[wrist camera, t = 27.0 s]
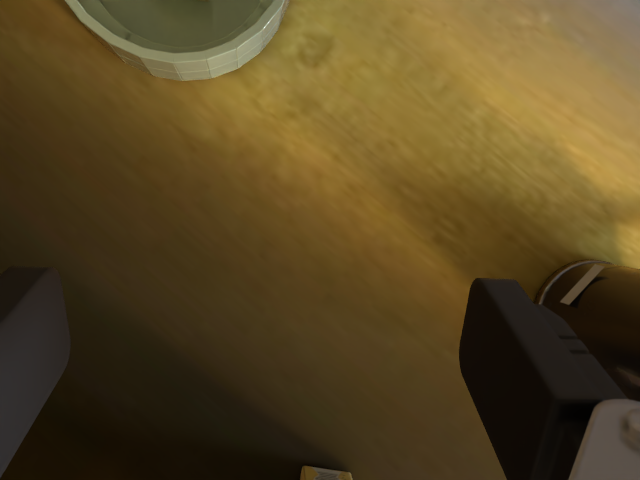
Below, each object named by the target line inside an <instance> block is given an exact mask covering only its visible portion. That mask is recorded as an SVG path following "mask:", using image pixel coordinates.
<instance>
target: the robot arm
mask: <svg viewBox="0 0 640 480" xmlns="http://www.w3.org/2000/svg"><path fill="white" fill-rule="evenodd" d="M70 344H71V342H70V332H69V326H68V320H67V314H66V308H65V302H64V296H63V290H62V284H61V278H60V275H59V273H58V271H57V270H56V269H55V268H54V267H25V266H11V267H9V268H8V269H7V270H6V271H5V272H4V273H3V274H2V275H1V276H0V478H1V476H2V474H3V473H4V471H5V469H6V468H7V466H8V464H9V463H10V461H11V459H12V458H13V456H14V454H15V453H16V451H17V449H18V448H19V446H20V444H21V442H22V441H23V439H24V437H25V436H26V434H27V432H28V431H29V429H30V427H31V426H32V424H33V422H34V421H35V419H36V417H37V416H38V414H39V412H40V411H41V409H42V407H43V405H44V404H45V402H46V400H47V399H48V397H49V395H50V394H51V392H52V390H53V389H54V387H55V385H56V384H57V382H58V380H59V379H60V377H61V375H62V374H63V372H64V370H65V368H66V366H67V363H68V359H69V355H70ZM459 361H460V368H461V373H462V376H463V378H464V381H465V383H466V385H467V388H468V390H469V392H470V395H471V397H472V399H473V402H474V404H475V406H476V408H477V411H478V413H479V415H480V418H481V420H482V422H483V425H484V427H485V429H486V432H487V434H488V436H489V439H490V441H491V443H492V446H493V448H494V450H495V453H496V455H497V457H498V460H499V462H500V464H501V466H502V469H503V471H504V473H505V476H506V478H507V480H640V269H634V268H630V267H624V266H619V265H614V264H612V263H608V262H604V261H598V260H580V261H576V262H573V263H570V264H567V265H565V266H564V267H562V268H560V269H559V270H557V271H556V272H555V273H554V274H552V275H551V276H550V277H549V278H548V280H547V281H546V282H545V283H544V285H543V286H542V288H541V289H540V291H539V293H538V295H537V298H536V301H535V304H534V303H533V302H532V301H531V299H530V298H529V297H528V295H527V294H526V293H525V291H524V290H523V289H522V287H521V286H520V285H519V283H518V282H517V281H516V280H514V279H489V278H476V279H475V280H474V281H473V282H472V285H471V288H470V292H469V298H468V303H467V308H466V314H465V319H464V324H463V330H462V335H461V340H460V347H459Z"/></svg>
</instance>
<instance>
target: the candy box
mask: <svg viewBox="0 0 640 480" xmlns="http://www.w3.org/2000/svg"><path fill="white" fill-rule="evenodd" d="M300 480H352V477H351V473H350V472H344V471H336V470H329V469H322V468H316V467H310V466H303V467H302V471H301V476H300Z"/></svg>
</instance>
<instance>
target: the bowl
mask: <svg viewBox="0 0 640 480" xmlns="http://www.w3.org/2000/svg"><path fill="white" fill-rule="evenodd" d="M65 2H66V3H67V4H68V6H69V7H70V8H71V10H72V11H73V12H74V13H75V15H76V16H77V17H78V19H79V20H80V21H81V22H82V23H83V24H84V25H85V26H86V27H87V29H88V30H89V31H90V32H91V33H92V34H93V35H94V36H95V37H96V38H97V39H98V40H99V41H100V43H101V44H102V45H103V46H105V47H106V48H107V49H108V50H110V51H111V52H112V53H113V54H115V55H116V56H117V57H118V58H120V59H121V60H122V61H124V62H125V63H127V64H128V65H130V66H133V67H135V68H137V69H139V70H141V71H144V72H146V73H148V74H150V75H152V76H153V75H154V76H156V77H162V78H168V79H173V80H179V81H189V80H200V79H210V78H214V77H217V76H220V75H222V74H225V73H228V72H231V71H233V70H236V69H237V68H240V67H241V66H242V65H244V64H245V63H246V62H248V61H249V60H251V59H252V58H253V57H255V56H256V55H258V54H259V53H260V52H261V51H262V50H263V48H264V47H265V46H266V45H267V43H268V42H269V41H270V40H271V38H272V37H273V36H274V35H275V33H276V32H277V30H278V28H279V26H280V23H281V21H282V19H283V16H284V14H285V12H286V9H287V7H288V4H289V0H209V1H208V2H206V1H197V0H65Z"/></svg>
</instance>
